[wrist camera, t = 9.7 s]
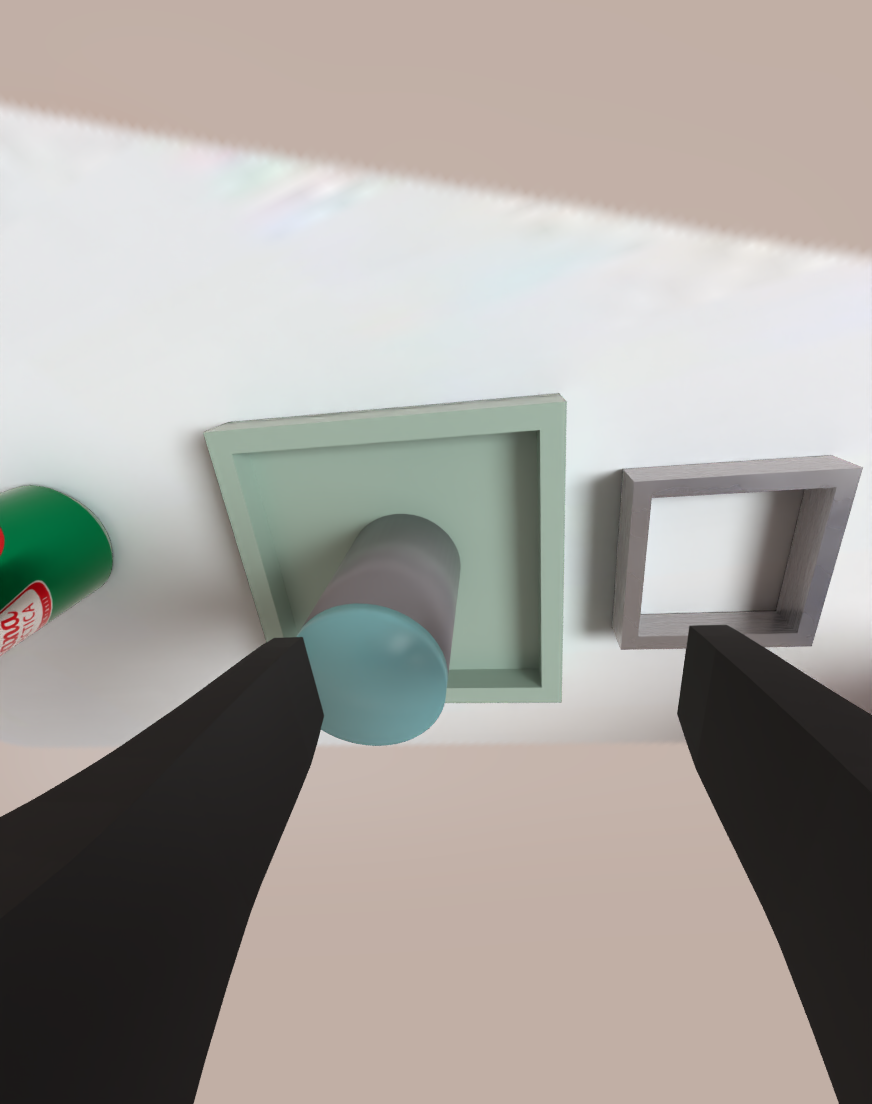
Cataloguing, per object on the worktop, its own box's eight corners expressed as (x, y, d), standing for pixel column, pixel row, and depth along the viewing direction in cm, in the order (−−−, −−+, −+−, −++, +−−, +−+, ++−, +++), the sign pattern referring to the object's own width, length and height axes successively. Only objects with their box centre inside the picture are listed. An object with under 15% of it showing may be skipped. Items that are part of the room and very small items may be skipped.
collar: (832, 455, 16) (862, 467, 15) (789, 623, 19) (811, 646, 18) (623, 468, 17) (634, 481, 16) (611, 627, 20) (620, 649, 19)
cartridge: (482, 579, 19) (478, 707, 13) (396, 628, 20) (354, 765, 14) (416, 492, 18) (375, 586, 11) (328, 550, 19) (250, 663, 13)
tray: (559, 393, 16) (566, 401, 15) (556, 673, 21) (561, 702, 20) (228, 422, 18) (203, 432, 16) (299, 676, 23) (285, 703, 21)
